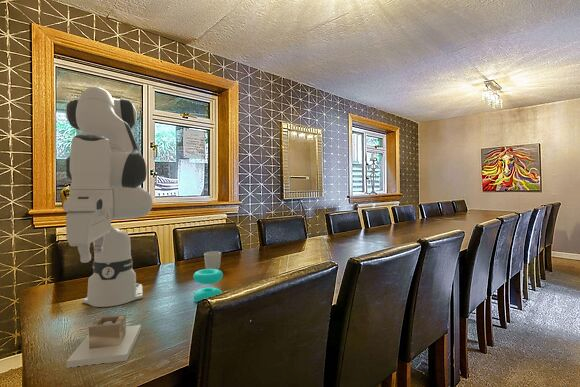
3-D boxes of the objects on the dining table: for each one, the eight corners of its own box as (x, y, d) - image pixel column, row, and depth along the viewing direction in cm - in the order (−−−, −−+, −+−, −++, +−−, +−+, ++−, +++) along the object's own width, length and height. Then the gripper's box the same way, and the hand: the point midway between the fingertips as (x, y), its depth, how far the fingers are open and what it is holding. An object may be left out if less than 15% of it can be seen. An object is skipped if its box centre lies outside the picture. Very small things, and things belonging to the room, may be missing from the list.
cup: (203, 267, 158) (203, 250, 158) (219, 265, 161) (219, 249, 161) (204, 272, 148) (204, 255, 148) (222, 271, 151) (222, 254, 150)
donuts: (189, 275, 107) (197, 267, 117) (190, 305, 107) (197, 295, 117) (220, 275, 107) (224, 267, 117) (220, 304, 108) (225, 294, 118)
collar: (98, 336, 82) (97, 316, 82) (125, 333, 83) (125, 314, 83) (89, 348, 75) (88, 327, 75) (119, 345, 77) (118, 324, 77)
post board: (91, 335, 86) (91, 312, 85) (140, 330, 89) (140, 308, 88) (66, 368, 70) (65, 340, 70) (126, 360, 73) (126, 334, 73)
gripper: (91, 198, 88) (92, 248, 89) (59, 204, 68) (60, 268, 69) (117, 198, 90) (117, 247, 90) (92, 204, 70) (93, 267, 71)
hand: (92, 257), depth 80 cm, fingers open, 8 cm apart
